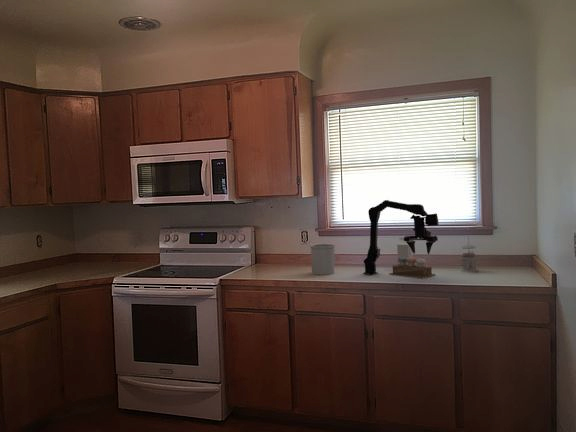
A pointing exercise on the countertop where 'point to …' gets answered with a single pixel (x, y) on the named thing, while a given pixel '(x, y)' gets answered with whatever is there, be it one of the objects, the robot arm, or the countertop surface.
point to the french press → (468, 258)
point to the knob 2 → (420, 263)
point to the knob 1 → (402, 261)
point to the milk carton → (404, 249)
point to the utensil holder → (322, 259)
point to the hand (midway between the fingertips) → (421, 253)
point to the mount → (412, 271)
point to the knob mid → (411, 262)
